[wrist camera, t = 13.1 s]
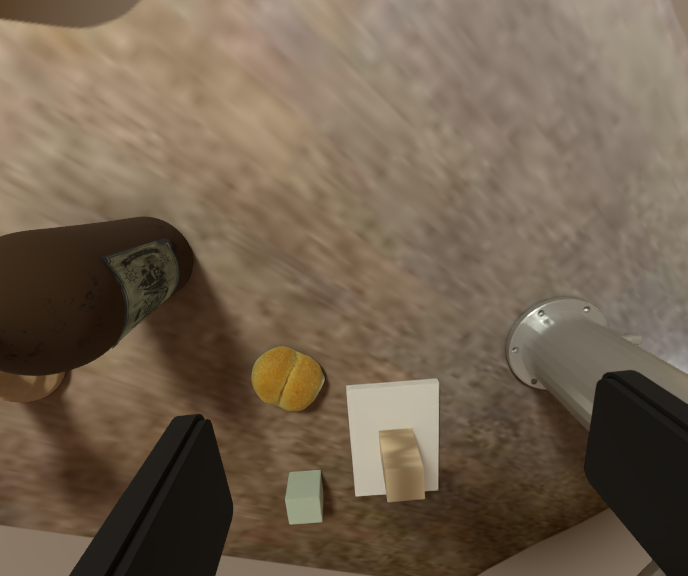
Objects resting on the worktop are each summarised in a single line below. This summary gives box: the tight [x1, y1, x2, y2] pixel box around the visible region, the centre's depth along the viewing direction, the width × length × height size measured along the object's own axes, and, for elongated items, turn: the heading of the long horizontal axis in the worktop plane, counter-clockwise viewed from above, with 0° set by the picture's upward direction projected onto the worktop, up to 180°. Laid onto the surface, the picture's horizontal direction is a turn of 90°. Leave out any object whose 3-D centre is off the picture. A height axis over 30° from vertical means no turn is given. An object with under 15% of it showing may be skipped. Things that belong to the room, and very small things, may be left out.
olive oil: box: [0, 217, 193, 376], centre depth 28 cm, size 11×11×25 cm
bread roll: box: [251, 346, 325, 412], centre depth 44 cm, size 8×9×4 cm
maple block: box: [379, 428, 425, 502], centre depth 44 cm, size 4×4×7 cm
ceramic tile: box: [346, 379, 439, 496], centre depth 48 cm, size 12×18×1 cm, turn 4°
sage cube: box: [285, 470, 324, 524], centre depth 49 cm, size 4×4×4 cm
